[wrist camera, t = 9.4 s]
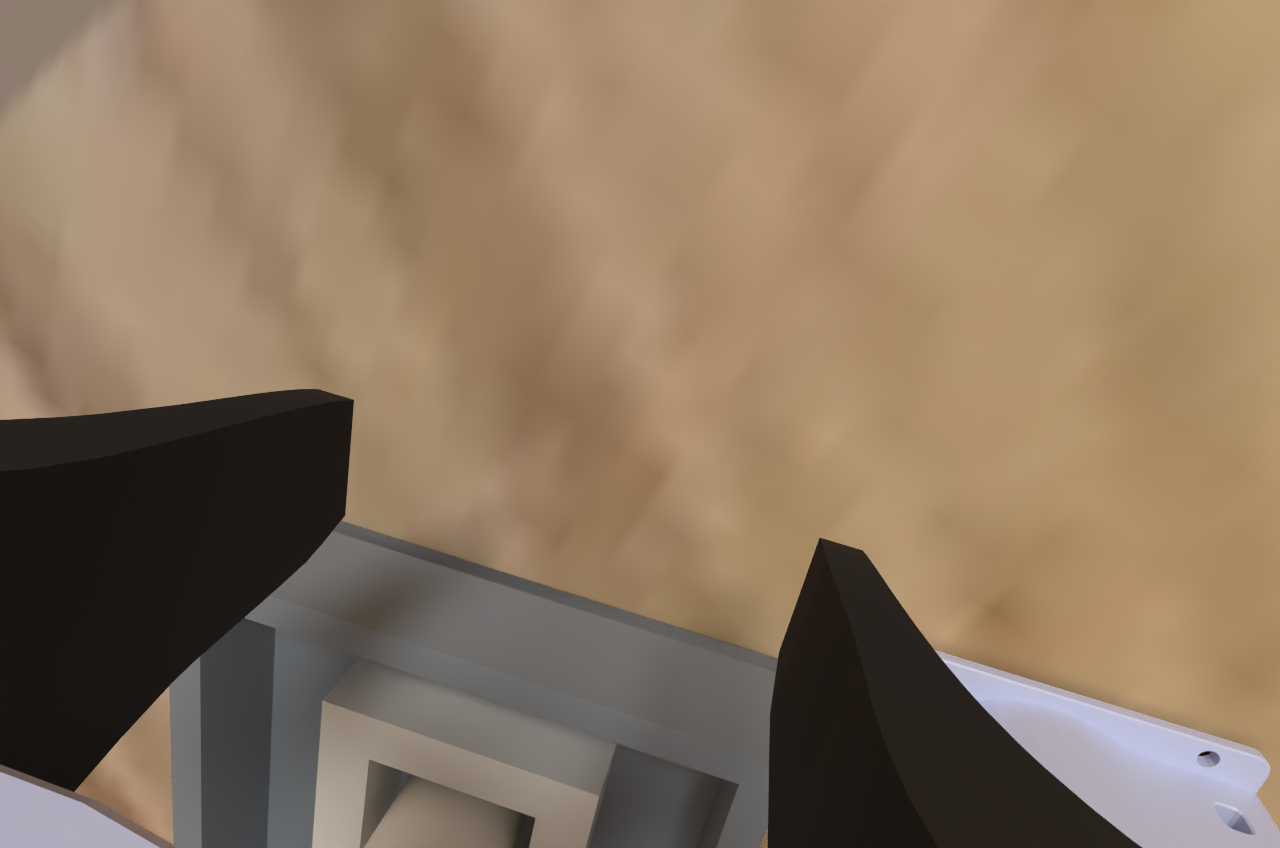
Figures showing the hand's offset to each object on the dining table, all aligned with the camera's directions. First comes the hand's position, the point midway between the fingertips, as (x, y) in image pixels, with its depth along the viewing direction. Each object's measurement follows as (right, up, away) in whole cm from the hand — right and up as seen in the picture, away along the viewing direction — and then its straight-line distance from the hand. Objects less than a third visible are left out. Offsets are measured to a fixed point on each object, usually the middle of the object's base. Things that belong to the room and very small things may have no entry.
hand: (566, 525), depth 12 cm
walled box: (-4, -10, +15) cm, 19 cm away
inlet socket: (-4, -10, +15) cm, 19 cm away
